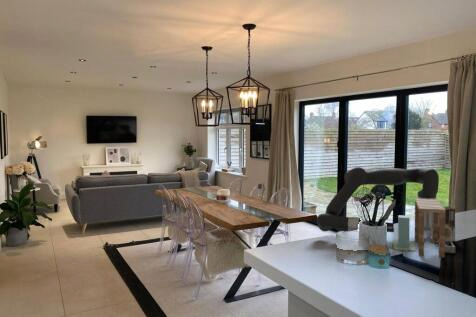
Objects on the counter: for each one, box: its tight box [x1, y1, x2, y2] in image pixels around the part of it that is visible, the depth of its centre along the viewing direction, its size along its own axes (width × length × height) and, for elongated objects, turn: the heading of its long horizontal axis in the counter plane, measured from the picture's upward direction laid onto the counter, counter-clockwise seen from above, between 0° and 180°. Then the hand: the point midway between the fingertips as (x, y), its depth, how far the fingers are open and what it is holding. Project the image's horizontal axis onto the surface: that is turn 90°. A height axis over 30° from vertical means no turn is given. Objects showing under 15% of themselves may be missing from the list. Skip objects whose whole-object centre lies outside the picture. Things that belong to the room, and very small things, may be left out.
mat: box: [392, 240, 416, 252], centre depth 171 cm, size 12×9×1 cm
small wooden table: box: [414, 198, 446, 258], centre depth 166 cm, size 23×10×21 cm, turn 158°
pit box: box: [445, 241, 456, 255], centre depth 164 cm, size 9×4×3 cm, turn 158°
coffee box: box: [430, 205, 456, 242], centre depth 179 cm, size 9×6×16 cm
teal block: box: [397, 214, 410, 247], centre depth 170 cm, size 5×5×14 cm
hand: (393, 227), depth 172 cm, fingers open, 8 cm apart
